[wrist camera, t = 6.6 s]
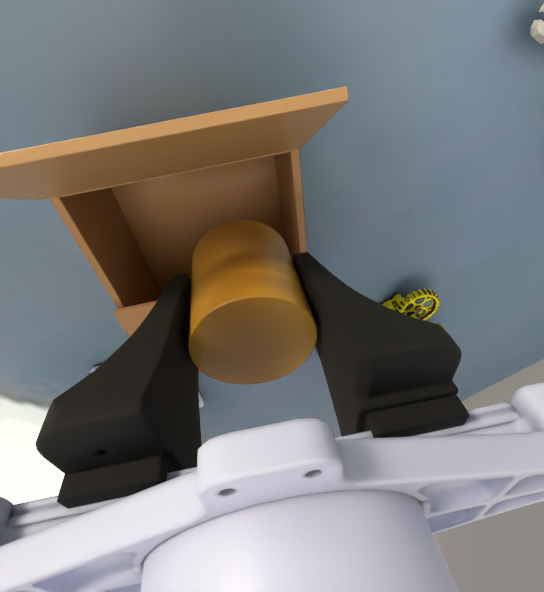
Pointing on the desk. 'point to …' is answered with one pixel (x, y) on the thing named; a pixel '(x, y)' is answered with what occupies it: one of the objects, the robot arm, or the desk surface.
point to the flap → (166, 146)
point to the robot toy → (538, 28)
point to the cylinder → (247, 306)
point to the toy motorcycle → (415, 304)
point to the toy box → (178, 223)
